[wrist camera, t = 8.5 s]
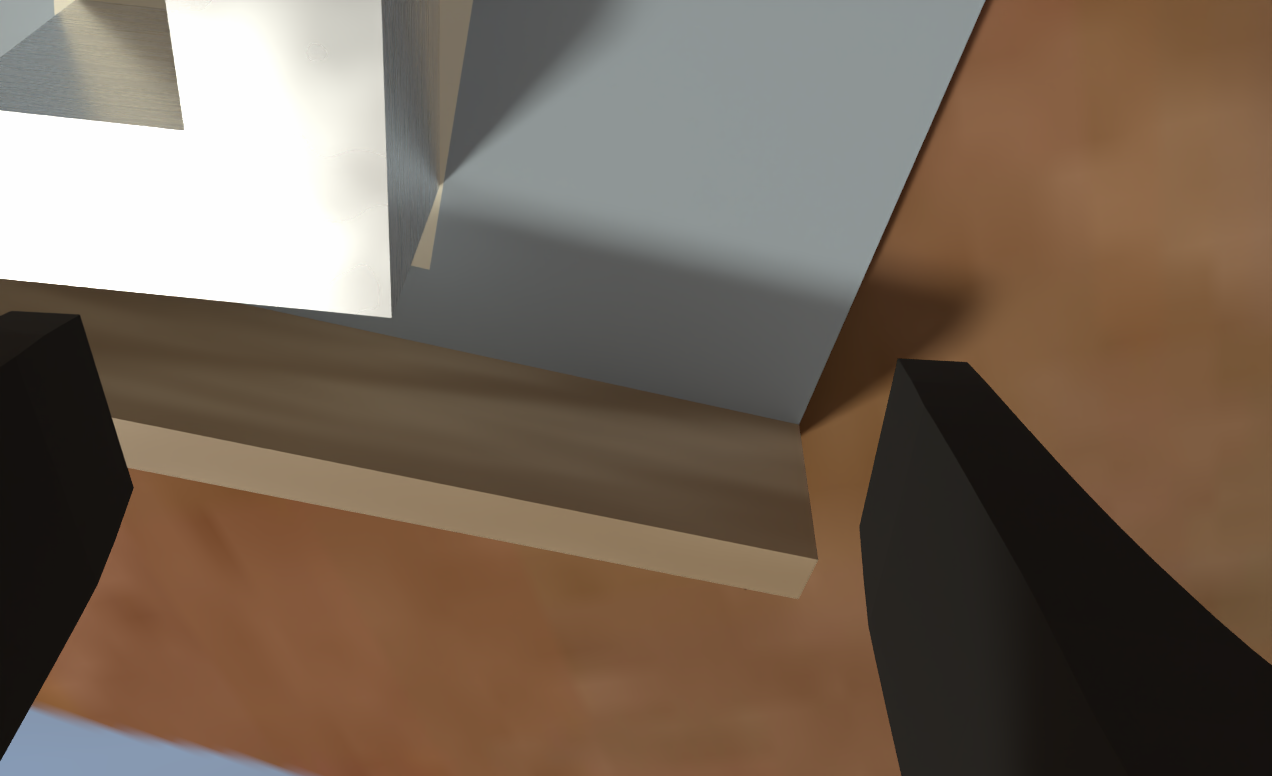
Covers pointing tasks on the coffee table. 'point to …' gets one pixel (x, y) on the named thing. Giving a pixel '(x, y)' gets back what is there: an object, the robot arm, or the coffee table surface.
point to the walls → (443, 437)
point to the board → (660, 183)
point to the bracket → (223, 149)
